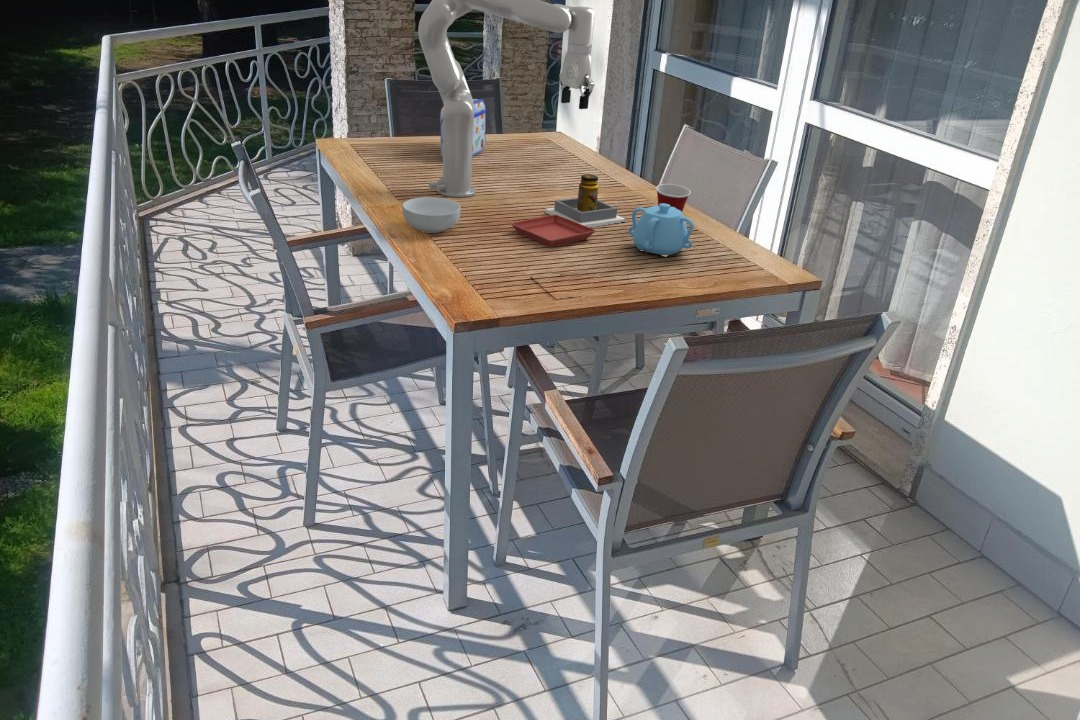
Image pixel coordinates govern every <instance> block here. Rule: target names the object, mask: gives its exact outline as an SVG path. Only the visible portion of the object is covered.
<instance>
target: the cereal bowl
mask: <svg viewBox="0 0 1080 720" xmlns="http://www.w3.org/2000/svg"><path fill="white" fill-rule="evenodd" d="M401 206H402V208H401V209H402V215H403V218H404V220H405V222H406V223H407V224H408V225H409V226H411V227H413V228H415V229H417V230H419V231H420V230H421V232H423V231H424V232H423V233H427V232H429V234H431V233H432V234H434V233H435V234H436V233H441V232H444V231H445V230H448V229H450V228H452V227H454V226H455V225H456V224H457V223H458V222H459V220H460V217H461V204H460V203H458V202H457V201H455V200H452V199H449V198H443V197H437V196H436V197H434V196H433V197H432V196H429V197H428V196H425V197H416V198H415V197H414V198H411V199H407V200H406V201H404V202H403V203H402V205H401Z"/></svg>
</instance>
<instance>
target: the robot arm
mask: <svg viewBox="0 0 1080 720" xmlns="http://www.w3.org/2000/svg"><path fill="white" fill-rule="evenodd" d="M472 10H475V11H479V12H483V13H487V14H491V15H494V16H497V17H500V18H503V19H507V20H510V21H513V22H516V23H521V24H524V25H528V26H532V27H535V28H538V29H541V30H545V31H548V32H552V33H556V34H560V33H561V34H562V33H564V32H566V31H567V30H568V35H567V47H566V48H567V49H566V50H567V51H566V52H565V55H564V59H563V62H562V63H563V64H562V69H561V73H559V75H558V76H559V83H560V89H561V97H560V98H561V99H560V102H561V104H570V103H571V97H572V95H571V94H572V93H571V92H572V90H571V89H575V90H579V92H580V95H579V101H578V102H579V103H578V109H579V110H588V108H589V103H590V102H589V101H590V100H589V99H590V96H591V94H592V92H593V90H594V88H595V82H594V81H593V79H592V57H591V56H592V46H593V36H594V28H595V27H594V26H595V17H596V13H595V9H594V8H592V7H588V6H587V7H586V6H571V5H566V4H560V3H554V4H553V3H550V2H547V1H542V0H431V1H430V3H429V5H428V6H427V7H426V8H425V10H424V12H423V13H422V15H421V17H420V20H419V21H418V22H419V23H418V38H419V39H418V40H419V43H420V44H419V45H420V47H421V50H422V52H423V55H424V58H425V61H426V64H427V66H428V69H429V72H430V75H431V79H432V82H433V84H434V86H435V87H436V88H437V91H438V93H439V95H440V97H441V101H442V103H443V106H444V111H443V158H442V177H439V178H438V179H439V180H437V181H430V182H428V188H429V189H436V190H437V193H438V194H440V195H443V196H445V197H450V198H451V197H452V198H467V197H471V196H472V197H473V196H474V195H476V189H475V187H473V186H472V173H473V171H472V167H473V164H472V163H473V157H472V145H473V123H474V104H473V96H472V93H471V91H470V88H469V86H468V82H467V79H466V77H465V74H464V71H463V69H462V67H461V65H460V63H459V61H458V60H456V59H455V56H454V53H453V51H452V48H451V44H450V41H449V38H448V35H447V31H448V29H449V27H450V26H451V25H452V24H453V23H454V21H455V20H457V19H459V18H461V17H462V16H465V15H466V14H468V13H470V12H471V11H472Z"/></svg>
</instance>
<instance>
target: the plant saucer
mask: <svg viewBox="0 0 1080 720" xmlns="http://www.w3.org/2000/svg"><path fill="white" fill-rule="evenodd" d="M511 226H512V227H513V228H514V229H515V231H516V232H517V233H518V234H520V235H522V236H524V237H527V238H529V239H530V240H533V241H535V242H537V243H540V244H541V245H545V246H546V247H548V248H553V247H554V246H555V247H558V245H559V246H562V244H564V245H567V244H566V243H568V244H571V242H572V243H576V242H575V241H577V242H580V240H581V241H585V240H584V239H586V240H587V239H589V237H591V236H592V235H593V234H595V232H596V229H594V228H593V227H592V228H589V227H587V226H584V225H582V224H579V223H577V222H574V221H571V220H569V219H566V218H564V217H561V216H559V215H546V216H541V217H536V218H530V219H526V220H521V221H520V220H519V221H515V222H511ZM555 247H554V248H555Z"/></svg>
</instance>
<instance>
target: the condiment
mask: <svg viewBox="0 0 1080 720" xmlns="http://www.w3.org/2000/svg"><path fill="white" fill-rule="evenodd" d="M598 180H599V178H598V176H597V175H595V174H591V173H584V174H582V175H581V176H580V183H579V184H578V194H577V195H578V196H577V198H578V203H577V210H579V211H581V212H586V211H594V210H596V206H597V199H598V195H599V185H598V184H599V181H598Z"/></svg>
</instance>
